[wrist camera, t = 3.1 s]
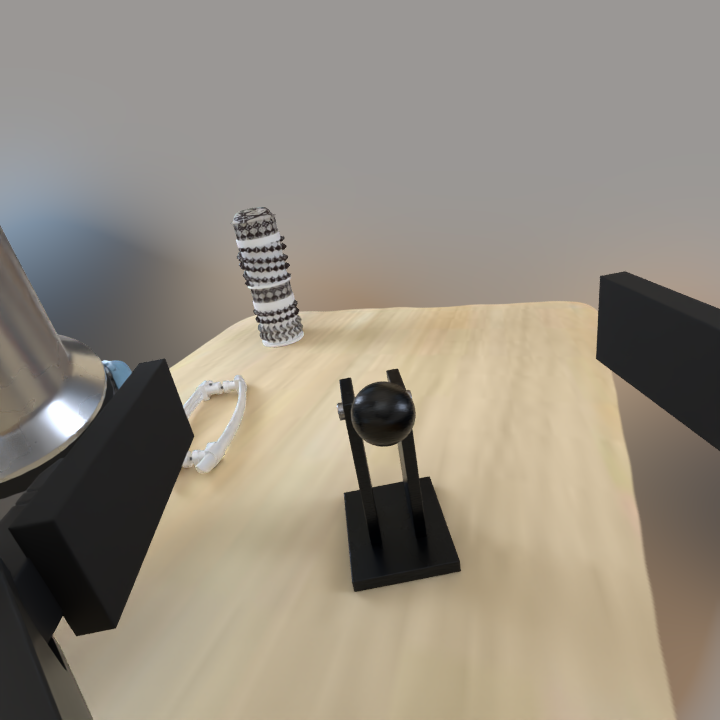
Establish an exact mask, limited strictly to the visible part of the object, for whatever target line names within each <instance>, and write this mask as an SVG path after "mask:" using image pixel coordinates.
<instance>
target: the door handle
mask: <svg viewBox="0 0 720 720" xmlns="http://www.w3.org/2000/svg"><path fill="white" fill-rule="evenodd" d="M223 390H224V392H225V393H229V392H231V391H234V390H237V393H238V395H239V397H238V402H237V406H236V409H235V411H234V414H233V416H232V418H231V420H230V422H229V424H228V426H227V427H226V429H225V430H224V432H223V434H222V435H221V436H220V438H219V439H218V441H217V442H211V443H208V444H207V446H206V449H205V450H202V451H201V450H194V451H193V452H192V453H191V452H190V451H188V452H187V455H186V457H185V460H184V462H183V465H182V467H184V468H186V467H192V465H193V464H194V465H195V466H196V467H195V468H196V469H197V472H199V473H200V474H201V473H208V472H210V471H211V469H212V468H214V467H216V465H217V464H218V463H219V462H220V460H221V459H222V458H223V456H224V455H225V451H226V449H227V448H228V446H229V445H230V443H231V441H232V439H233V438H234V436H235V434H236V432H237V430H238V428H239V426H240V423H241V421H242V418H243V414H244V410H245V405H246V391H247V385H246V382H245V380H244V379H243V377H242V376H241V375H236V376H235V378H234V381H223V386H222V384H221V382H216V383H214V382H213V381H207V380H206V381H204V382H203V383H201V384H200V385H199V386H198V387H197V388H196V390H195V392H194V393H193V394H192V396H191V397H190V398H189V399H188V400H187V402H186V403H185V404H184V406H183V408H184V410H185V413H186V416H187V418H189V416H190V415H191V413H192V412H193V411H194V410H195V408H196V407H197V406H198V404H199V403H200V402H201V401H205V400H209V399H210V396H211V394H222V393H223Z"/></svg>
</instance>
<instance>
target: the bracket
mask: <svg viewBox="0 0 720 720" xmlns="http://www.w3.org/2000/svg"><path fill="white" fill-rule="evenodd" d="M386 372H387V379H388V382H391V383H394V384H396V385H398V386H400V387H402V388H403V389H404V390H405V391H406V392H407V393H408V394H409V395H410V397H411V399H412V396H411V392H410V390H406V388H405V386H404V383H403V381H402V378H401V375H400V373H399V370H398V369H393V370H387V371H386ZM339 381H340V390H341V398H342V403H338V404H337V408H338V414H339V418H340V420H345V421H346V426H347V430H348V435H349V440H350V445H351V450H352V455H353V459H354V464H355V469H356V474H357V479H358V483H359V488H360V490H357V491H351V492H346V493H344V500H345V510H346V521H347V532H348V542H349V553H350V564H351V575H352V583H353V587H354V591H355V592H357V591H362V590H367V589H372V588H377V587H382V586H387V585H392V584H397V583H402V582H408V581H413V580H418V579H423V578H428V577H433V576H438V575H443V574H448V573H453V572H458V571H461V569H460V561H459V558H458V555H457V552H456V549H455V546H454V544H453V541H452V538H451V535H450V532H449V530H448V527H447V524H446V521H445V518H444V516H443V513H442V510H441V507H440V504H439V502H438V499H437V496H436V493H435V490H434V487H433V485H432V482H431V479H430V477H424V478H419V474H418V467H417V459H416V452H415V445H414V437H413V430H411V431H410V433H409V434H408V436H407V437H406V438H405V439H403V440H402V441H401V442H399V443H398V449H399V456H400V462H401V469H402V475H403V482H398V483H393V484H388V485H383V486H377V487H372V484H371V479H370V474H369V468H368V463H367V458H366V453H365V448H364V442H363V439H362V438H361V437H360V436H359V435H358V433H357V432H356V430H355V429H354V426H353V424H352V420H351V408H352V404H353V401H354V399H355V396H354V390H353V385H352V380H351V378H346V379H340V380H339Z"/></svg>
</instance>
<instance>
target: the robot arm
mask: <svg viewBox="0 0 720 720" xmlns="http://www.w3.org/2000/svg"><path fill="white" fill-rule="evenodd" d="M596 359H597V360H598V361H600V362H601V363H602V364H604V365H605V366H606V367H608V368H609V369H610V370H612V371H613V372H614V373H616V374H617V375H619V376H620V377H621V378H622V379H624V380H625V381H626V382H628V383H629V384H631V385H632V386H633V387H635V388H636V389H637V390H639V391H640V392H641V393H643V394H644V395H645V396H647V397H648V398H650V399H651V400H652V401H653V402H655V403H656V404H657V405H659V406H660V407H661V408H663V409H664V410H666V411H667V412H668V413H669V414H671V415H673V417H675V418H676V419H678V420H679V421H680V422H682V423H683V424H684V425H686V426H687V427H688V428H690V429H691V430H692V431H694V432H695V433H696V434H698V435H699V436H700V437H702V438H703V439H704V440H706V441H707V442H708V443H710V444H711V445H712V446H714V447H715V448H717V449H718V450H719V451H720V309H719V308H716V307H714V306H711V305H708V304H706V303H703V302H701V301H698V300H696V299H693V298H691V297H688V296H686V295H683V294H681V293H678V292H676V291H673V290H671V289H668V288H666V287H663V286H661V285H658V284H656V283H653V282H651V281H648V280H646V279H643V278H640V277H638V276H635V275H633V274H630V273H628V272H620V273H614V274H609V275H605V276H600V291H599V310H598V331H597V351H596ZM193 438H194V434H193V432H192V429H191V426H190V424H189V421H188V418H187V416H186V413H185V410H184V408H183V405H182V402H181V400H180V397H179V394H178V392H177V389H176V386H175V384H174V381H173V378H172V376H171V373H170V370H169V368H168V365H167V362H166V360H165V359H160V360H155V361H150V362H144V363H139V364H138V366H137V367H136V368H135V369H134V371H133V372H131V370H130V368H129V367H128V366H127V364H125V363H124V362H122V361H110V362H109V361H102V362H101V360H100V358H99V357H98V356H97V355H96V354H95V352H94V351H93V350H92V349H91V348H89V347H88V346H87V345H85V344H83V343H81V342H80V341H77V340H75V339H73V338H69V337H65V336H62V335H57V333H56V331H55V330H54V327H53V326H52V324H51V322H50V320H49V318H48V316H47V314H46V312H45V310H44V308H43V306H42V304H41V303H40V301H39V299H38V297H37V295H36V293H35V291H34V289H33V287H32V285H31V283H30V281H29V280H28V278H27V276H26V274H25V272H24V270H23V268H22V266H21V264H20V262H19V260H18V259H17V257H16V255H15V253H14V251H13V249H12V247H11V245H10V243H9V241H8V240H7V238H6V236H5V234H4V232H3V230H2V228H1V226H0V720H93V718H92V716H91V713H90V711H89V709H88V707H87V705H86V702H85V700H84V698H83V696H82V694H81V691H80V689H79V687H78V685H77V683H76V680H75V678H74V676H73V674H72V672H71V669H70V667H69V665H68V663H67V661H66V658H65V656H64V654H63V652H62V650H61V647H60V646H59V644H58V643H57V641H56V640H55V638H54V637H53V633H54V631H55V629H56V628H57V626H58V624H59V622H60V620H61V618H62V616H64V618H65V619H66V621H67V622H68V624H69V626H70V627H71V629H72V630H73V632H74V633H75V635H76V636H80V635H85V634H90V633H95V632H100V631H105V630H110V629H115V628H116V627H117V624H118V622H119V620H120V617H121V615H122V612H123V610H124V607H125V605H126V602H127V600H128V597H129V595H130V592H131V590H132V588H133V585H134V583H135V580H136V578H137V575H138V573H139V570H140V568H141V565H142V563H143V561H144V558H145V556H146V553H147V551H148V548H149V546H150V543H151V541H152V538H153V536H154V534H155V531H156V529H157V526H158V524H159V521H160V519H161V516H162V514H163V511H164V509H165V506H166V504H167V502H168V499H169V497H170V494H171V492H172V489H173V487H174V484H175V482H176V479H177V477H178V475H179V472H180V470H181V467H182V465H183V462H184V460H185V457H186V455H187V452H188V450H189V448H190V445H191V443H192V440H193Z"/></svg>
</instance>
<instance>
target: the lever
mask: <svg viewBox="0 0 720 720" xmlns="http://www.w3.org/2000/svg"><path fill="white" fill-rule="evenodd" d="M415 413H416V412H415V406H414V403H413V401H412V399H411V397H410V395H409V394H408V393H407V392H406V391H405V390H404V389H403V388H402V387H400V386H398V385H396V384H394V383H391V382H376V383H372V384H370V385H368V386H366V387H365V388H363V389H362V390H361V391H360V392H359V393H358V394H357V396H356V397H355V399H354V401H353V404H352V408H351V420H352V424H353V426H354V429H355V430H356V432H357V433H358V435H359V436H360V437H361V438H362V439H363V440H365V441H366V442H368V443H370V444H372V445H376V446H382V447H383V446H392V445H395V444H397V443H399V442H401V441H402V440H403V439H405V438H406V437H407V436H408V434H409V433H410V431H411V430H412V428H413V425H414V422H415Z"/></svg>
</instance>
